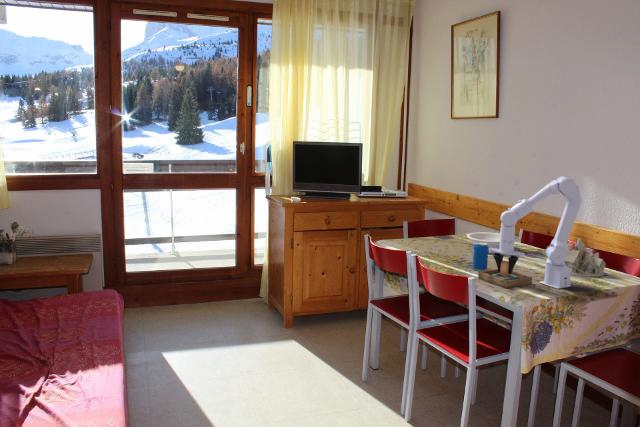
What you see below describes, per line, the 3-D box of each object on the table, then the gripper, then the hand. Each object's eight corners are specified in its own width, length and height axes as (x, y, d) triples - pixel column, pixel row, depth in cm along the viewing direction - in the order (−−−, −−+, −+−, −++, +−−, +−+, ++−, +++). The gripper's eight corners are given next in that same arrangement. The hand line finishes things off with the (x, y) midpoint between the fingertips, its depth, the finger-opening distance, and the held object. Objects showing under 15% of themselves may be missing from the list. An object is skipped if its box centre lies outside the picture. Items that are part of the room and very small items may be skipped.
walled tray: (531, 284, 228) (532, 277, 227) (506, 288, 222) (506, 281, 221) (502, 274, 242) (503, 268, 241) (478, 278, 236) (478, 271, 235)
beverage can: (470, 267, 253) (471, 241, 251) (484, 267, 253) (486, 242, 251) (474, 271, 247) (475, 245, 245) (488, 271, 247) (490, 245, 245)
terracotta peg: (511, 276, 232) (512, 262, 231) (507, 278, 229) (508, 263, 228) (501, 274, 234) (502, 260, 233) (498, 276, 231) (499, 262, 230)
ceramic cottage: (553, 270, 250) (558, 237, 247) (580, 268, 256) (585, 236, 253) (581, 281, 236) (587, 247, 233) (608, 278, 242) (615, 245, 239)
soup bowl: (523, 250, 288) (524, 238, 287) (493, 256, 275) (494, 243, 273) (486, 242, 307) (487, 230, 306) (456, 247, 294) (457, 235, 293)
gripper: (528, 241, 227) (526, 273, 229) (494, 236, 237) (492, 267, 239) (521, 244, 222) (519, 277, 224) (487, 238, 231) (485, 270, 234)
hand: (505, 272), depth 231 cm, fingers closed on terracotta peg, 4 cm apart
